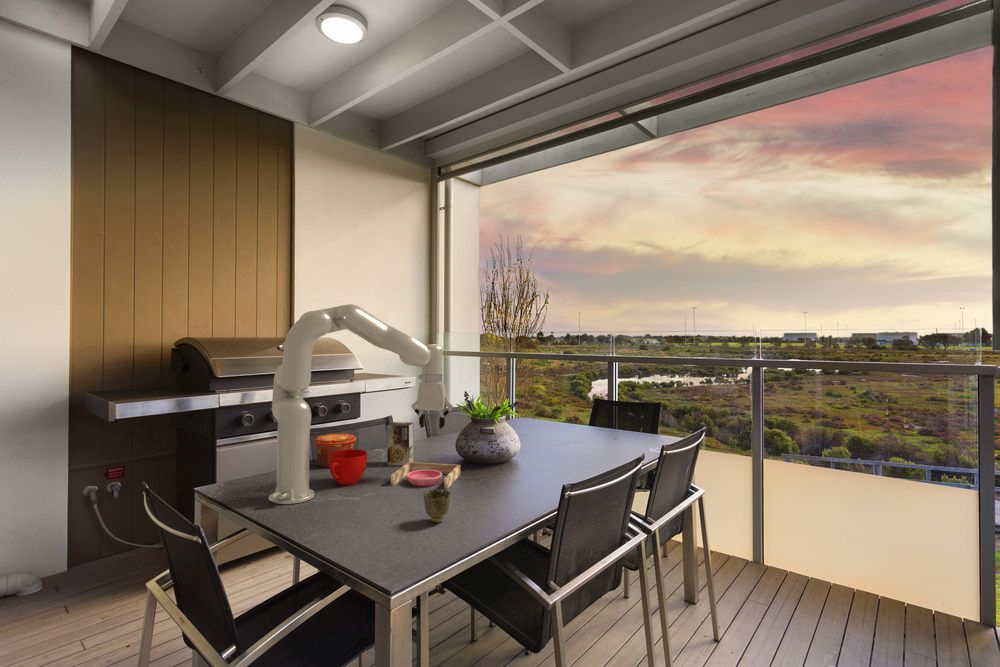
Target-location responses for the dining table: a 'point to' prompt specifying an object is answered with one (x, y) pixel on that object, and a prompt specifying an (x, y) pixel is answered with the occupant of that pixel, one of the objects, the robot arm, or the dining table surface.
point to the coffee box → (399, 443)
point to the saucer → (424, 477)
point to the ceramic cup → (347, 465)
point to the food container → (332, 446)
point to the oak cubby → (448, 469)
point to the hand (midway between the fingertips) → (432, 427)
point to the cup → (436, 504)
